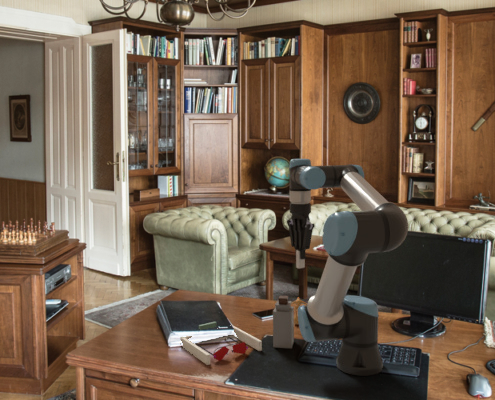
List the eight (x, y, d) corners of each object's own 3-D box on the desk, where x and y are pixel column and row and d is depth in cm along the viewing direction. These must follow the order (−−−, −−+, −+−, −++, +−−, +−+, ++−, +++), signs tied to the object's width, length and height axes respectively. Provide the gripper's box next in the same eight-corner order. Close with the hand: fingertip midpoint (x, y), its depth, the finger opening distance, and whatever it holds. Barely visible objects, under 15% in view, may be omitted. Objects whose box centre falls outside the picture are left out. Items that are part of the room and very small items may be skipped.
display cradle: (261, 350, 200) (261, 332, 199) (207, 365, 188) (206, 346, 187) (232, 333, 217) (232, 317, 216) (180, 346, 205) (180, 329, 204)
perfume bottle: (291, 348, 201) (291, 300, 199) (273, 347, 203) (272, 299, 200) (293, 341, 208) (293, 294, 206) (276, 340, 209) (275, 294, 207)
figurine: (307, 322, 228) (307, 294, 227) (309, 327, 222) (309, 298, 221) (287, 323, 228) (286, 294, 227) (288, 328, 222) (288, 299, 221)
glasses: (214, 364, 190) (214, 349, 189) (192, 348, 203) (191, 335, 203) (248, 354, 197) (248, 341, 197) (225, 340, 211) (224, 327, 210)
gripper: (320, 203, 193) (320, 269, 196) (297, 199, 204) (297, 262, 207) (303, 205, 189) (303, 272, 192) (280, 201, 200) (281, 265, 203)
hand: (300, 267), depth 200 cm, fingers closed
